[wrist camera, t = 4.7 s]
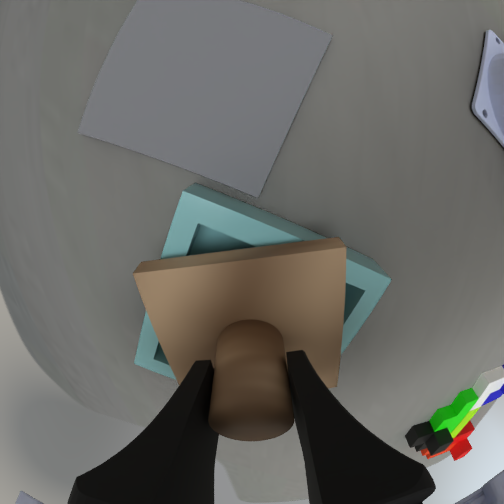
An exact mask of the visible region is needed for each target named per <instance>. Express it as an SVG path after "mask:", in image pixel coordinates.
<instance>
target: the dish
mask: <svg viewBox="0 0 504 504" xmlns="http://www.w3.org/2000/svg"><path fill="white" fill-rule="evenodd" d="M317 239H326V237H324V236H322V235H320V234H317V233H315V232H313V231H311V230H308V229H306V228H304V227H302V226H299V225H297V224H295V223H292V222H290V221H288V220H285V219H283V218H281V217H278V216H276V215H274V214H271V213H269V212H267V211H264V210H262V209H259V208H257V207H255V206H252V205H250V204H247V203H245V202H243V201H240V200H238V199H235V198H233V197H230V196H228V195H225V194H223V193H220V192H218V191H215V190H213V189H210V188H208V187H205V186H202V185H200V184H197V183H194V184H192V185H191V186H189V187H188V188H187V189H185V190H184V191H183V192H182V195H181V198H180V201H179V203H178V206H177V209H176V212H175V215H174V218H173V221H172V224H171V227H170V230H169V233H168V236H167V239H166V243H165V246H164V249H163V252H162V256H161V259H167V258H175V257H183V256H191V255H198V254H206V253H214V252H222V251H230V250H238V249H245V248H253V247H261V246H269V245H277V244H285V243H293V242H301V241H309V240H317ZM391 280H392V279H391V278H390V277H389V276H388V275H387V274H386V273H385V272H384V271H383V269H382V268H381V267H380V266H379V265H378V264H377V263H376V262H375V261H374V260H373V259H371V258H369V257H367V256H365V255H363V254H361V253H359V252H357V251H355V250H352V249H350V248H348V247H346V286H345V306H344V321H343V334H342V345H341V354H342V353H343V351H344V350H345V349H346V347H347V346H348V345H349V343H350V342H351V341H352V339H353V338H354V336H355V335H356V334H357V332H358V331H359V329H360V328H361V326H362V325H363V324H364V322H365V321H366V319H367V318H368V316H369V315H370V313H371V312H372V310H373V309H374V307H375V306H376V304H377V302H378V301H379V299H380V298H381V296H382V295H383V293H384V291H385V290H386V288H387V287H388V285H389V283H390V282H391ZM134 364H136V365H139V366H141V367H144V368H146V369H149V370H151V371H154V372H156V373H159V374H162V375H164V376H167V377H170V378H172V379H175V380H177V379H176V377H175V375H174V373H173V371H172V369H171V367H170V365H169V363H168V360H167V358H166V356H165V354H164V352H163V349H162V347H161V345H160V343H159V340H158V338H157V336H156V333H155V331H154V328H153V326H152V324H151V321H150V319H149V316H148V314H147V311H146V313H145V317H144V321H143V326H142V330H141V334H140V338H139V343H138V347H137V352H136V357H135V361H134Z"/></svg>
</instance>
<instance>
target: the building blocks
mask: <svg viewBox="0 0 504 504" xmlns="http://www.w3.org/2000/svg"><path fill="white" fill-rule="evenodd" d="M502 394H504V365H502V366H500V367H497V368H494V369H492V370H489V371H486V372H483V373H481V375H480V376H479V378H478V380H477V381H476V383H475V384H474V386H473V387H472V388H470V389H467V390H464V391H461V392H460V393H459V394H458V396H457V397H456V398H455V400H454V401H453V403H452V404H451V405H449V406H446V407H443V408H440V409H437V411H436V412H435V413H434V415H433V416H432V418H431V419H430V420H429V421H428V422H424V423H421V424H417V425H414V426H412V428H411V429H410V430H409V432H408V433H407V434H406V435H405V437H406V439H407V442H408V444H409V446H410V448H411V447H414V446H415V449H416V451H417V452H418V451H421V453H422V455H423V456H424V455H426V457H427V459H429V458H432V457H435V456H437V455H440V454H442V453H445V452H447V451H449V450H450V452H451V454H452V457H453V459H454V461H455V460H457V459H460V458H462V457H464V456H465V455H466V454H467V453H468V452H469V451H470V450H471V449H472V447H471V445H470V443H469V441H468V439H467V437H468V436H469V435H470V434H471V433H472V432H473V431H474V429H475V428H474V427H473V425H472V423H471V422H470V419H471V418H472V417H473V416H474V415H475V413H476V412H477V411H478V410H479V408H480V407H481V406H482V405H485V404H487V403H489V402H491V401H493V400H495V399H497V398H499V397H500V396H501V395H502Z"/></svg>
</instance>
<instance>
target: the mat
mask: <svg viewBox="0 0 504 504" xmlns="http://www.w3.org/2000/svg"><path fill="white" fill-rule="evenodd" d="M332 37H333V35H331V34H329V33H327V32H324V31H322V30H320V29H318V28H316V27H314V26H311V25H309V24H307V23H304V22H302V21H299V20H297V19H295V18H292V17H289V16H287V15H284V14H281V13H279V12H276V11H273V10H270V9H267V8H264V7H261V6H258V5H255V4H251V3H248V2H244V1H241V0H137V2H136V3H135V5H134V7H133V8H132V10H131V11H130V13H129V15H128V17H127V18H126V20H125V22H124V24H123V25H122V27H121V29H120V31H119V33H118V34H117V36H116V38H115V40H114V42H113V44H112V46H111V48H110V50H109V52H108V54H107V57H106V59H105V61H104V63H103V65H102V67H101V70H100V72H99V74H98V77H97V79H96V82H95V84H94V87H93V89H92V92H91V94H90V97H89V100H88V102H87V105H86V108H85V111H84V114H83V117H82V120H81V123H80V126H79V129H78V133H80V134H83V135H86V136H90V137H93V138H96V139H99V140H102V141H106V142H109V143H112V144H115V145H118V146H121V147H124V148H127V149H130V150H133V151H136V152H139V153H142V154H144V155H147V156H150V157H153V158H156V159H159V160H161V161H164V162H167V163H170V164H172V165H175V166H178V167H181V168H183V169H186V170H189V171H191V172H194V173H197V174H199V175H202V176H204V177H207V178H210V179H212V180H215V181H217V182H220V183H222V184H225V185H227V186H230V187H232V188H235V189H237V190H240V191H242V192H245V193H247V194H249V195H252V196H254V197H257V198H258V197H259V195H260V193H261V191H262V188H263V186H264V184H265V182H266V179H267V177H268V175H269V173H270V170H271V168H272V166H273V164H274V162H275V159H276V157H277V155H278V153H279V150H280V148H281V146H282V144H283V142H284V139H285V137H286V135H287V133H288V131H289V128H290V126H291V124H292V122H293V120H294V118H295V115H296V113H297V111H298V109H299V107H300V104H301V102H302V100H303V98H304V96H305V94H306V92H307V89H308V87H309V85H310V83H311V81H312V79H313V77H314V74H315V72H316V70H317V68H318V66H319V64H320V62H321V60H322V58H323V55H324V53H325V51H326V49H327V47H328V45H329V43H330V41H331V39H332Z"/></svg>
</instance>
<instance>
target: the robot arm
mask: <svg viewBox="0 0 504 504" xmlns="http://www.w3.org/2000/svg"><path fill="white" fill-rule="evenodd" d="M472 110H473V113H474V114H475V115H476V116H477V117H478V118H479V120H480V121H481V122H482V123H483V124H484V125H485V126H486V127H487V128H488V129H489V131H490V132H491V133H492V134H493V135H494V136H495V138H496V139H497V140H498V141H499V142H500V144H501V145H502V146H503V147H504V43H503V42H502V41H501V40H500V39H499V38H498V36H497V35H496V34H495V33H494V32H493V31H492V30H488V31H486V35H485V43H484V50H483V56H482V62H481V67H480V72H479V77H478V81H477V86H476V90H475V94H474V98H473V102H472ZM483 114H484V115H483ZM286 357H287V367H288V376H289V383H290V391H291V398H292V405H293V413H294V418H295V422H296V427H297V431H298V435H299V439H300V443H301V447H302V451H303V456H304V461H305V469H306V477H307V485H308V494H309V503H310V504H423V503H422V502H423V501H424V500H425V499H426V498H427V497H429V496H430V495H431V494H432V493H433V492H434V491H435V489H436V487H435V484H434V481H433V479H432V477H431V475H430V474H429V472H428V470H427V469H426V467H425V466H424V465H423V464H421V463H419V462H417V461H415V460H413V459H411V458H409V457H407V456H405V455H404V454H402V453H400V452H399V451H397V450H395V449H394V448H392V447H391V446H389V445H388V444H386V443H385V442H383V441H382V440H381V439H379V438H378V437H377V436H375V435H374V434H373V433H371V432H370V431H369V430H368V429H366V428H365V427H364V426H363V425H362V424H361V423H359V422H358V421H357V420H356V419H355V418H354V417H353V416H352V415H351V414H350V413H349V412H348V411H347V410H346V409H345V408H344V407H343V406H342V405H341V404H340V402H339V401H338V400H337V399H336V398H335V397H334V395H333V394H332V393H331V392H330V391H329V389H328V388H327V387H326V385H325V384H324V383H323V381H322V380H321V378H320V377H319V376H318V374H317V373H316V371H315V369H314V368H313V366H312V365H311V363H310V361H309V359H308V357H307V355H306V353H305V351H303V350H297V351H290V352H286ZM213 376H214V368H213V365H212V362H211V360H197V361H195V362H194V363H193V365H192V367H191V368H190V370H189V372H188V373H187V375H186V376H185V378H184V379H183V381H182V382H181V384H180V385H179V387H178V388H177V390H176V391H175V393H174V394H173V395H172V397H171V398H170V400H169V401H168V402H167V404H166V405H165V406H164V407H163V409H162V410H161V411H160V412H159V414H158V415H157V416H156V417H155V419H154V420H153V421H152V422H151V423H150V424H149V425H148V426H147V427H146V428H145V429H144V430H143V432H141V433H140V435H138V436H137V437H136V438H135V439H134V440H133V441H132V442H131V443H129V444H128V445H127V446H126V447H125V448H124V449H122V450H121V451H120V452H118V453H117V454H116V455H114V456H113V457H111V458H110V459H108V460H107V461H106V462H104V463H103V464H101V465H99V466H97V467H96V468H94V469H92V470H90V471H88V472H86V473H85V474H82V475H81V476H78V477H77V478H76V480H75V483H74V485H73V488H72V491H71V494H70V497H69V500H68V504H214V466H215V457H216V450H217V443H218V436H219V434H218V433H217V432H215V431H214V430H213V429H212V428H211V427H210V425H209V421H208V420H209V411H210V402H211V393H212V384H213ZM16 504H43V503H42V502H40V501H38V500H37V499H35V498H33V497H31V496H30V495H28V494H26V493H25V492H23V491H20V494H19V496H18V498H17V501H16ZM455 504H504V470H503V471H502V472H500V473H499V474H497V475H496V476H495V477H494V478H492V479H491V480H489V481H488V482H487V483H486V484H484V485H483V487H481V488H480V489H478V490H477V491H475V492H474V493H472V494H470V495H469V496H467V497H465V498H464V499H462V500H460V501H458V502H457V503H455Z"/></svg>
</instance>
